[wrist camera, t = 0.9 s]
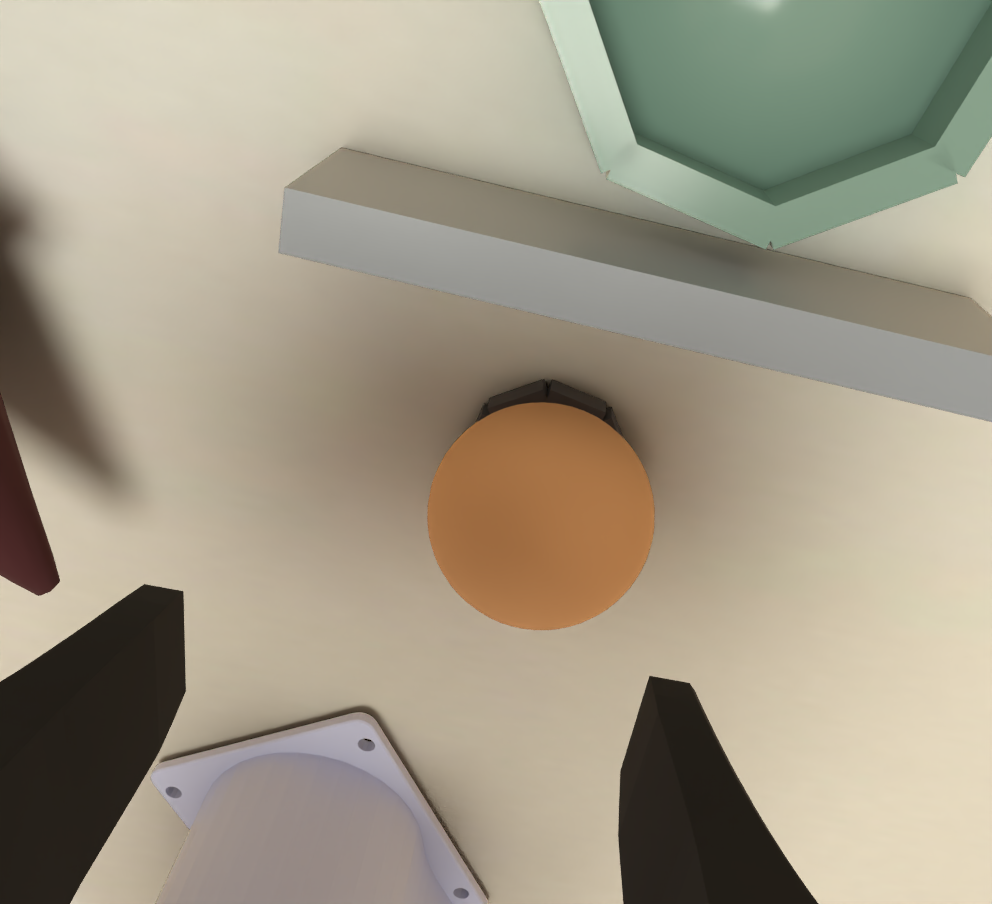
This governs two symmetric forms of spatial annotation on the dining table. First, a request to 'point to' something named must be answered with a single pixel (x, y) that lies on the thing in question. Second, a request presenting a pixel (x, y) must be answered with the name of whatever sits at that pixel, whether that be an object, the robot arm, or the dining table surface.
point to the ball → (541, 516)
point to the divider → (642, 280)
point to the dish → (779, 103)
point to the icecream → (21, 522)
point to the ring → (551, 400)
